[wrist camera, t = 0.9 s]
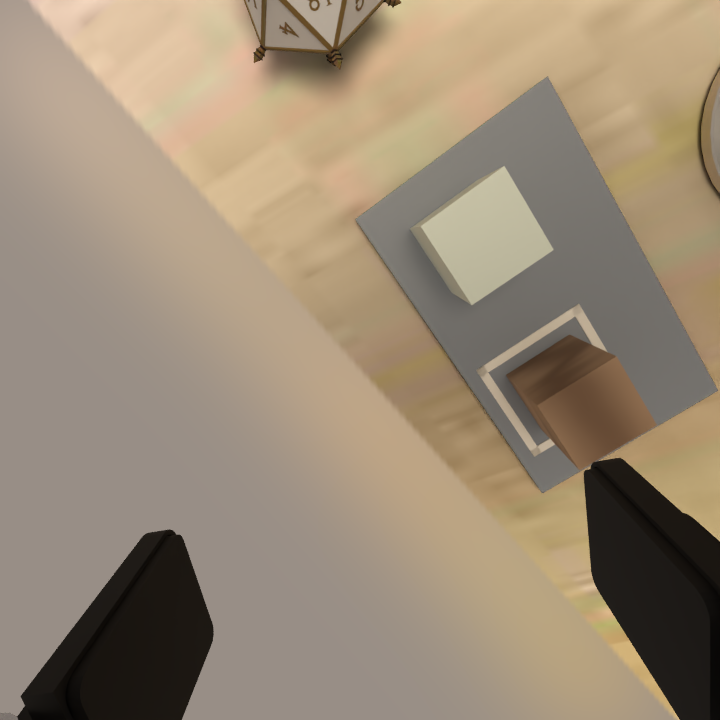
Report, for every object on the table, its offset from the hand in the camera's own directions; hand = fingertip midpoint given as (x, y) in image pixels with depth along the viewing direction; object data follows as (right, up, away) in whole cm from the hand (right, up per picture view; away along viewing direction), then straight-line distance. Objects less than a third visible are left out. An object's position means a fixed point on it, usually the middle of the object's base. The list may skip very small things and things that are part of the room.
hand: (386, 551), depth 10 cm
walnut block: (+13, +3, +22) cm, 25 cm away
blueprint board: (+12, +8, +21) cm, 25 cm away
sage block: (+6, +12, +19) cm, 23 cm away
